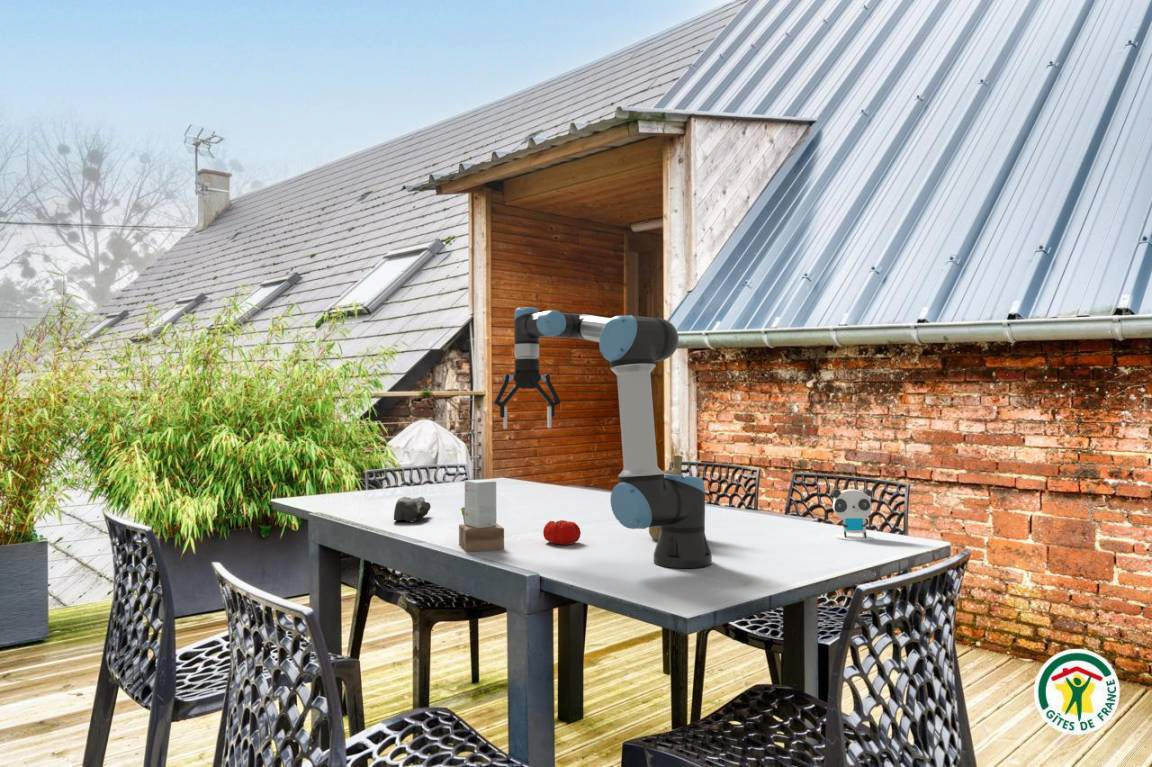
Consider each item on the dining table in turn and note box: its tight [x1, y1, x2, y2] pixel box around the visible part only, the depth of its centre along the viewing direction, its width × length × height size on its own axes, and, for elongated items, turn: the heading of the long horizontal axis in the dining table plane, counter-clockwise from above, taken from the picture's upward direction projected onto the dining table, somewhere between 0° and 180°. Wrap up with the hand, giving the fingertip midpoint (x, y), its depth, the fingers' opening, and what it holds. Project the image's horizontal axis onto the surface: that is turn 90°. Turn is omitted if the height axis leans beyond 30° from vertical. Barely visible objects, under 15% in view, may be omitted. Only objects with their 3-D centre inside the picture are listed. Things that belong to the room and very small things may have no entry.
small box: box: [463, 479, 497, 528], centre depth 237 cm, size 8×6×13 cm
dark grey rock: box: [393, 496, 431, 522], centre depth 288 cm, size 18×11×8 cm, turn 2°
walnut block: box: [458, 522, 505, 553], centre depth 237 cm, size 11×11×6 cm
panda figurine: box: [830, 488, 874, 542], centre depth 252 cm, size 12×11×15 cm
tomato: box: [542, 519, 581, 546], centre depth 243 cm, size 10×11×6 cm
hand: (527, 428), depth 249 cm, fingers open, 13 cm apart
